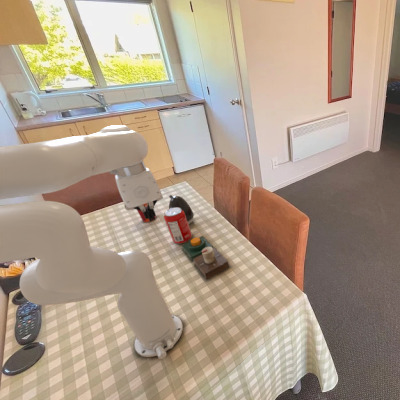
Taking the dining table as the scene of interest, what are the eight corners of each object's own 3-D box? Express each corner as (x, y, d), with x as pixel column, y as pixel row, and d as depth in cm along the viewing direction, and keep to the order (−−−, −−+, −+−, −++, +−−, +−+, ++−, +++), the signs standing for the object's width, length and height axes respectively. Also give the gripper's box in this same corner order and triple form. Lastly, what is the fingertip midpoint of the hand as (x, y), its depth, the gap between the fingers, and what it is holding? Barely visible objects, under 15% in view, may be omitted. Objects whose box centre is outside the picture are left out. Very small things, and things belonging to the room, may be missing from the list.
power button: (202, 243, 110) (201, 240, 109) (193, 247, 108) (192, 244, 107) (198, 239, 112) (197, 236, 112) (190, 243, 110) (189, 240, 109)
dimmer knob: (212, 254, 105) (209, 244, 102) (217, 260, 102) (214, 249, 100) (203, 260, 103) (199, 249, 100) (207, 265, 100) (204, 254, 97)
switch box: (213, 250, 112) (211, 243, 110) (192, 261, 106) (189, 253, 104) (203, 239, 118) (201, 232, 116) (183, 249, 113) (180, 242, 111)
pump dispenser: (188, 215, 135) (179, 189, 127) (200, 222, 130) (191, 195, 122) (168, 225, 128) (158, 198, 120) (180, 232, 123) (170, 204, 115)
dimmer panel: (229, 267, 103) (227, 261, 102) (206, 279, 98) (204, 273, 96) (216, 253, 110) (214, 247, 108) (195, 264, 105) (192, 258, 103)
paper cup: (152, 223, 130) (142, 198, 122) (137, 223, 130) (125, 198, 122) (161, 214, 136) (151, 190, 129) (146, 214, 136) (136, 190, 129)
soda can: (176, 247, 114) (165, 219, 106) (171, 239, 119) (160, 211, 111) (195, 239, 118) (185, 211, 110) (189, 231, 123) (179, 204, 115)
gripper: (102, 180, 72) (128, 233, 82) (161, 164, 81) (178, 214, 91) (98, 172, 77) (123, 223, 86) (153, 158, 86) (171, 206, 95)
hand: (151, 218), depth 88 cm, fingers closed
